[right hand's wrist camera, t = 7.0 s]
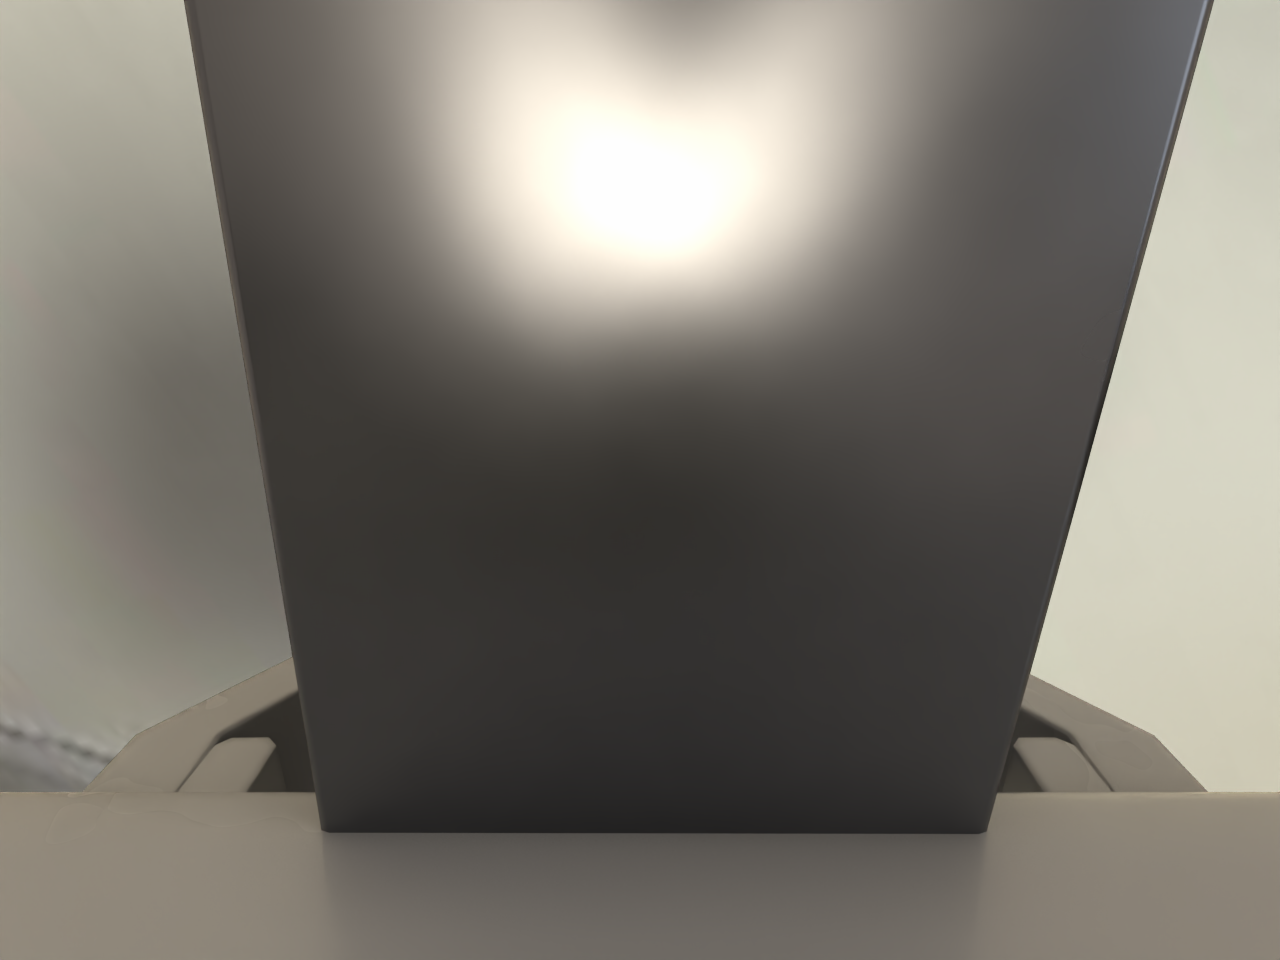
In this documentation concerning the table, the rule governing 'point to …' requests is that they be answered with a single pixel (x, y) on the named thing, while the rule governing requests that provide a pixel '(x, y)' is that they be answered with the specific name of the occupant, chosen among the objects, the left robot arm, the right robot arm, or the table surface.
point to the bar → (678, 386)
